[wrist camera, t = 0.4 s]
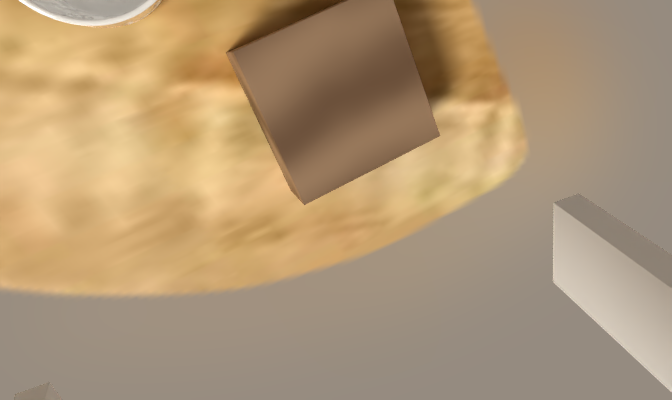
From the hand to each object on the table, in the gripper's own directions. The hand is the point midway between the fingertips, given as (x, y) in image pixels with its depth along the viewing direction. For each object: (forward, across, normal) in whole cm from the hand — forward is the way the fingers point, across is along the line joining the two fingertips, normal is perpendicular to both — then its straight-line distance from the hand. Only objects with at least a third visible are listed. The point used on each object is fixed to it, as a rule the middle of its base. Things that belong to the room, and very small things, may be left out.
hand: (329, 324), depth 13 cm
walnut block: (+24, +6, -2) cm, 24 cm away
